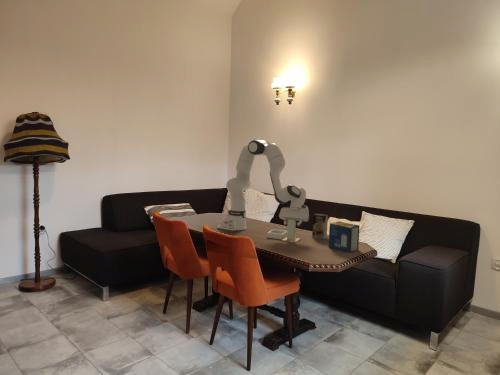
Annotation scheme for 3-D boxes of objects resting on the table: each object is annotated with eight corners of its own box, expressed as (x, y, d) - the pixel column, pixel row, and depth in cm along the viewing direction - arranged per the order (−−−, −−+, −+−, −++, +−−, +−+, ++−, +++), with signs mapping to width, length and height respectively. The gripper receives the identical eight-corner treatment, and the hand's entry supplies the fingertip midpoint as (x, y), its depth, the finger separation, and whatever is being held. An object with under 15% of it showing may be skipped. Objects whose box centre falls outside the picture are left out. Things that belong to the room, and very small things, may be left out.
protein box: (337, 244, 237) (338, 221, 236) (358, 250, 226) (360, 225, 224) (327, 247, 230) (329, 223, 229) (348, 252, 219) (350, 227, 217)
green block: (286, 239, 244) (287, 220, 243) (288, 237, 248) (289, 219, 247) (293, 240, 242) (294, 220, 241) (295, 238, 246) (296, 219, 245)
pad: (281, 240, 243) (281, 239, 243) (286, 237, 252) (286, 236, 252) (296, 242, 239) (296, 241, 239) (300, 239, 248) (300, 238, 248)
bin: (266, 237, 251) (267, 232, 251) (272, 234, 262) (273, 229, 262) (282, 239, 247) (282, 234, 246) (287, 235, 258) (287, 231, 257)
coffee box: (311, 237, 256) (312, 214, 254) (314, 235, 262) (315, 213, 260) (324, 238, 252) (325, 215, 250) (327, 237, 258) (328, 214, 256)
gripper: (280, 204, 253) (275, 220, 245) (309, 206, 245) (305, 223, 237) (282, 209, 258) (277, 225, 250) (311, 212, 250) (306, 229, 242)
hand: (291, 224), depth 244 cm, fingers open, 8 cm apart
